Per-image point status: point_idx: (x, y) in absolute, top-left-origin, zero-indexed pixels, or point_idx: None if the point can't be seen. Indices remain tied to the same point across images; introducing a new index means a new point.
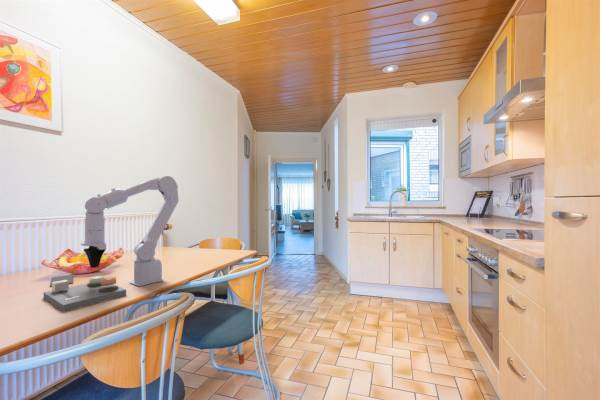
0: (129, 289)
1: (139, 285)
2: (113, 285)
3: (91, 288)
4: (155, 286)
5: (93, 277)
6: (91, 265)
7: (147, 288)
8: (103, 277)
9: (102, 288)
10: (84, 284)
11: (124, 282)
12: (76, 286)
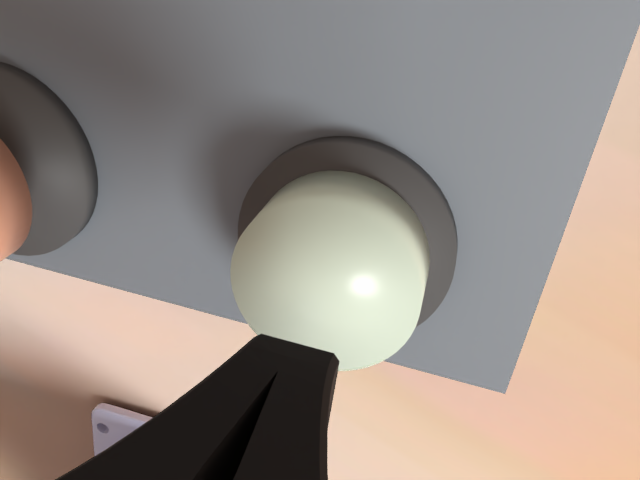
0: (91, 326)
1: (94, 409)
2: (50, 245)
3: (221, 106)
4: (9, 433)
5: (382, 281)
6: (231, 359)
7: (3, 383)
8: (252, 326)
9: (18, 123)
10: (533, 186)
11: (369, 468)
12: (542, 71)
